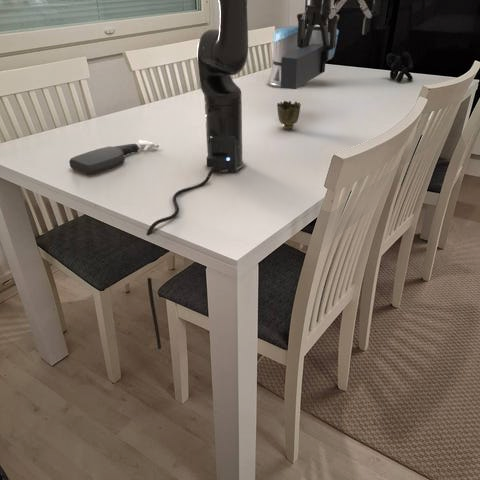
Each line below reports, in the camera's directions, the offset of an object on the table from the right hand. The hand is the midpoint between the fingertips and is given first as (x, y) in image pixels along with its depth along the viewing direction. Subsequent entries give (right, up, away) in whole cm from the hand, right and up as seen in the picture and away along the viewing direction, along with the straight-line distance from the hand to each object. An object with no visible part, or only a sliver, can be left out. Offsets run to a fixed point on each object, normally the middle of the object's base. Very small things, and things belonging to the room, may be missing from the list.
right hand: (314, 70), depth 149 cm
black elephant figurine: (+47, +15, +51) cm, 71 cm away
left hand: (+3, -4, -35) cm, 35 cm away
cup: (-9, -21, -4) cm, 23 cm away
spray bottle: (-59, -34, -24) cm, 73 cm away
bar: (-4, -5, -6) cm, 9 cm away
